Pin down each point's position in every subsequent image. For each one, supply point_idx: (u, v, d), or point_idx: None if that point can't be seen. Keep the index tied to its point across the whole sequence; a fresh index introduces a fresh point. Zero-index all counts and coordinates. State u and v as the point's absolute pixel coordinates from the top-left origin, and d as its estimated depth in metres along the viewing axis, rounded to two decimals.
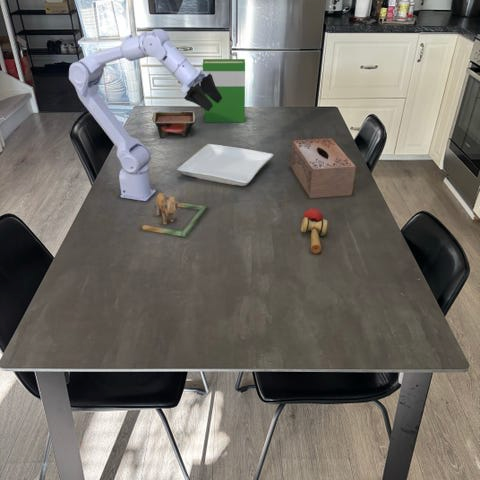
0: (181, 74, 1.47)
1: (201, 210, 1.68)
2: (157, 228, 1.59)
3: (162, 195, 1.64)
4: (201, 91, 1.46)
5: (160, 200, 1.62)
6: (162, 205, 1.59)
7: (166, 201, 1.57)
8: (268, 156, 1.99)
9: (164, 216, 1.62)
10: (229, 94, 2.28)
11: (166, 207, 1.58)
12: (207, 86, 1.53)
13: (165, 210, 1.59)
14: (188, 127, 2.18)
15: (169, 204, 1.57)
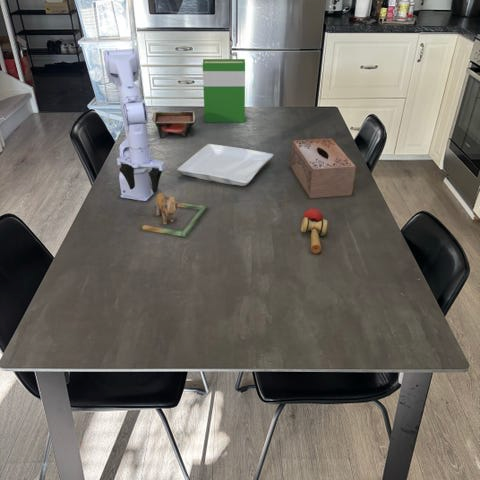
0: None
1: (201, 210, 1.68)
2: (157, 228, 1.59)
3: (162, 195, 1.64)
4: (125, 175, 1.59)
5: (160, 200, 1.62)
6: (162, 205, 1.59)
7: (166, 201, 1.57)
8: (268, 156, 1.99)
9: (164, 216, 1.62)
10: (229, 94, 2.28)
11: (166, 207, 1.58)
12: None
13: (165, 210, 1.59)
14: (188, 127, 2.18)
15: (169, 204, 1.57)
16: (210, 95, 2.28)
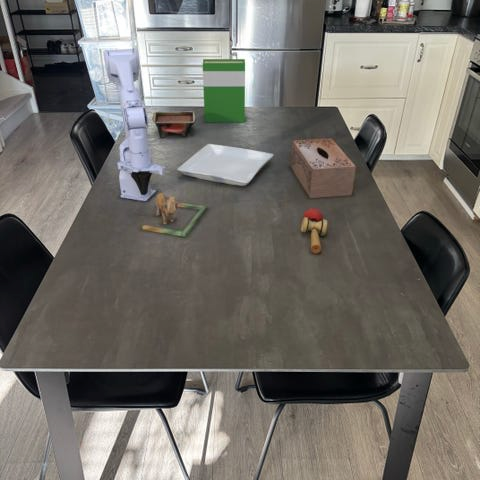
0: None
1: (201, 210, 1.68)
2: (157, 228, 1.59)
3: (162, 195, 1.64)
4: (136, 181, 1.59)
5: (160, 200, 1.62)
6: (162, 205, 1.59)
7: (166, 201, 1.57)
8: (268, 156, 1.99)
9: (164, 216, 1.62)
10: (229, 94, 2.28)
11: (166, 207, 1.58)
12: None
13: (165, 210, 1.59)
14: (188, 127, 2.18)
15: (169, 204, 1.57)
16: (210, 95, 2.28)
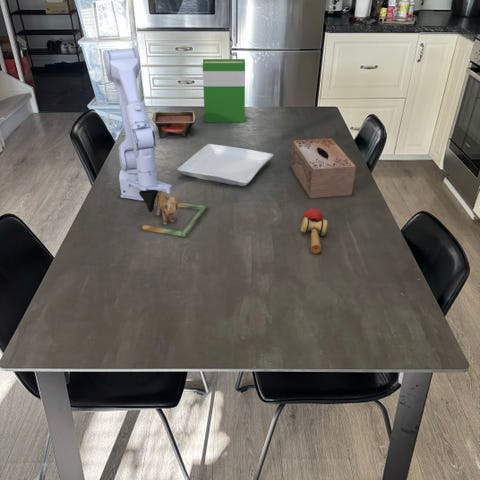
0: None
1: (201, 210, 1.68)
2: (157, 228, 1.59)
3: (163, 195, 1.64)
4: (144, 199, 1.62)
5: (161, 200, 1.62)
6: (162, 205, 1.59)
7: (166, 201, 1.57)
8: (268, 156, 1.99)
9: (164, 216, 1.62)
10: (229, 94, 2.28)
11: (166, 207, 1.58)
12: None
13: (165, 210, 1.59)
14: (188, 127, 2.18)
15: (169, 204, 1.57)
16: (210, 95, 2.28)
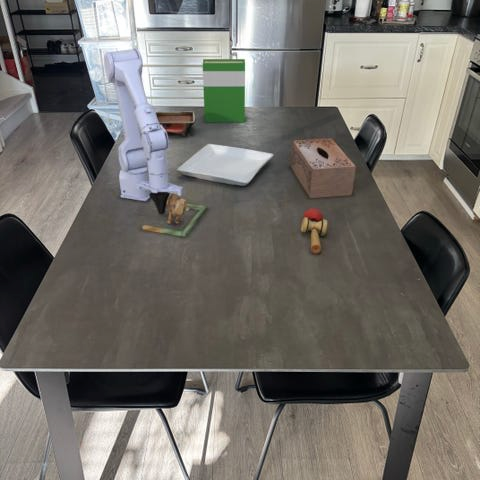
0: None
1: (201, 210, 1.68)
2: (157, 228, 1.59)
3: (176, 195, 1.63)
4: (154, 201, 1.61)
5: (172, 199, 1.61)
6: (171, 204, 1.58)
7: (176, 201, 1.56)
8: (268, 156, 1.99)
9: (170, 215, 1.61)
10: (229, 94, 2.28)
11: (174, 207, 1.57)
12: None
13: (172, 209, 1.58)
14: (188, 127, 2.18)
15: (178, 205, 1.56)
16: (210, 95, 2.28)
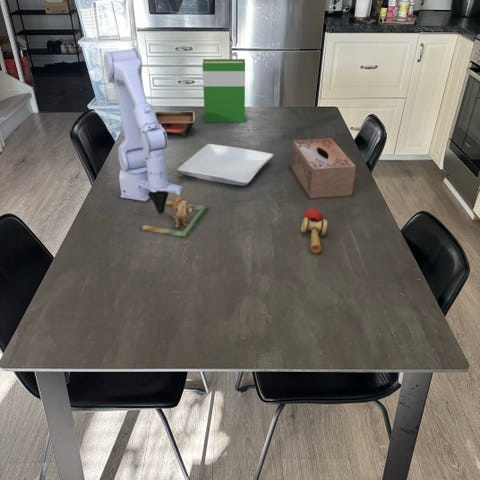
0: None
1: (201, 210, 1.68)
2: (157, 228, 1.59)
3: (179, 198, 1.62)
4: (153, 200, 1.62)
5: (175, 202, 1.61)
6: (174, 208, 1.58)
7: (177, 204, 1.56)
8: (268, 156, 1.99)
9: (176, 219, 1.60)
10: (229, 94, 2.28)
11: (177, 210, 1.56)
12: None
13: (176, 213, 1.57)
14: (188, 127, 2.18)
15: (180, 208, 1.55)
16: (210, 95, 2.28)
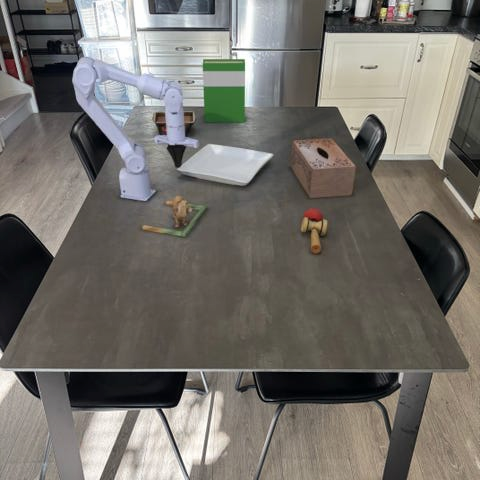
0: None
1: (201, 210, 1.68)
2: (157, 228, 1.59)
3: (179, 198, 1.62)
4: (171, 154, 1.70)
5: (175, 202, 1.61)
6: (174, 208, 1.58)
7: (177, 204, 1.56)
8: (268, 156, 1.99)
9: (176, 219, 1.60)
10: (229, 94, 2.28)
11: (177, 210, 1.56)
12: None
13: (176, 213, 1.57)
14: (188, 127, 2.18)
15: (180, 208, 1.55)
16: (210, 95, 2.28)
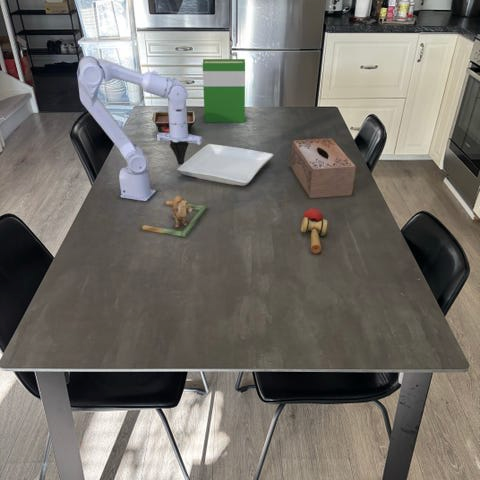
0: None
1: (201, 210, 1.68)
2: (157, 228, 1.59)
3: (179, 198, 1.62)
4: (175, 151, 1.72)
5: (175, 202, 1.61)
6: (174, 208, 1.58)
7: (177, 204, 1.56)
8: (268, 156, 1.99)
9: (176, 219, 1.60)
10: (229, 94, 2.28)
11: (177, 210, 1.56)
12: None
13: (176, 213, 1.57)
14: (188, 127, 2.18)
15: (180, 208, 1.55)
16: (210, 95, 2.28)
